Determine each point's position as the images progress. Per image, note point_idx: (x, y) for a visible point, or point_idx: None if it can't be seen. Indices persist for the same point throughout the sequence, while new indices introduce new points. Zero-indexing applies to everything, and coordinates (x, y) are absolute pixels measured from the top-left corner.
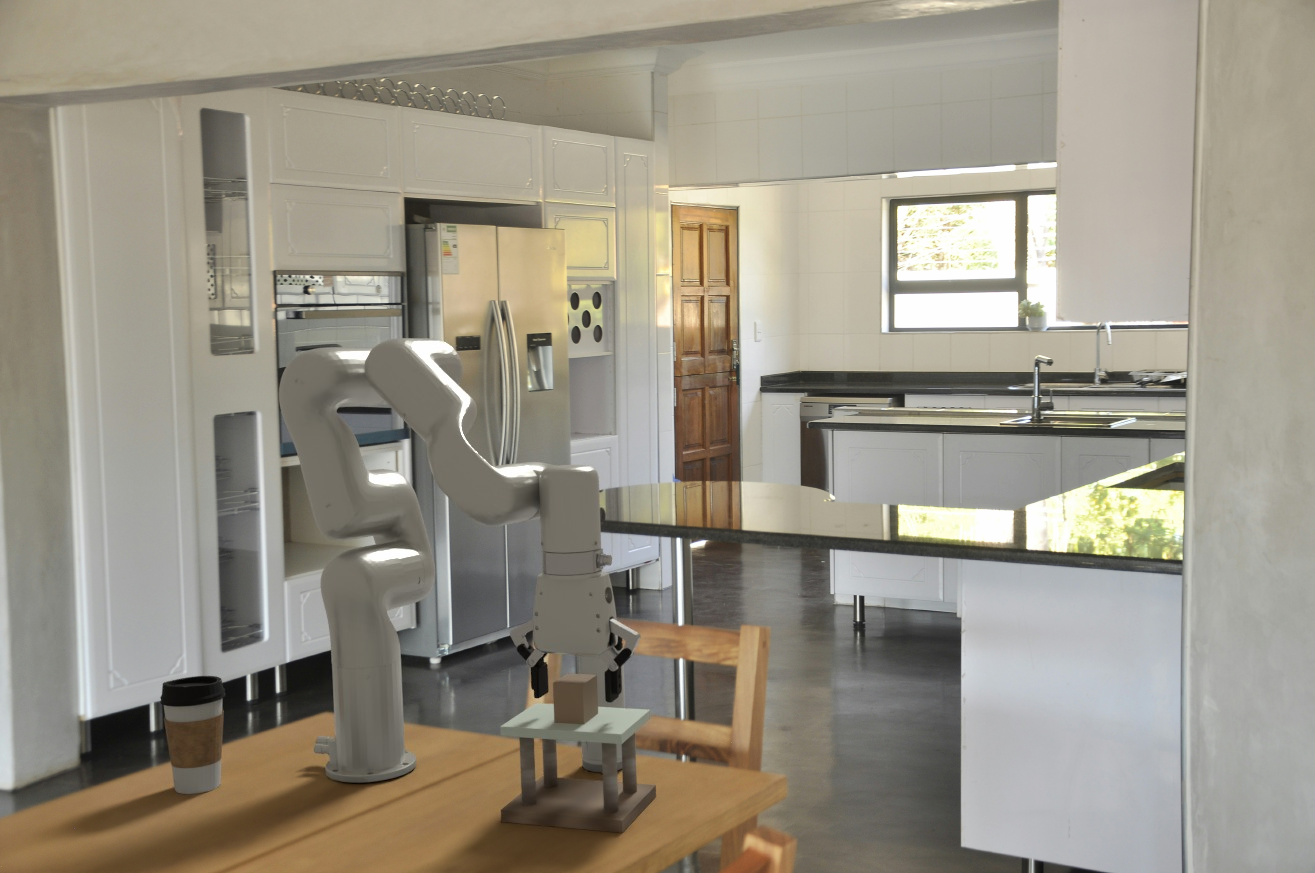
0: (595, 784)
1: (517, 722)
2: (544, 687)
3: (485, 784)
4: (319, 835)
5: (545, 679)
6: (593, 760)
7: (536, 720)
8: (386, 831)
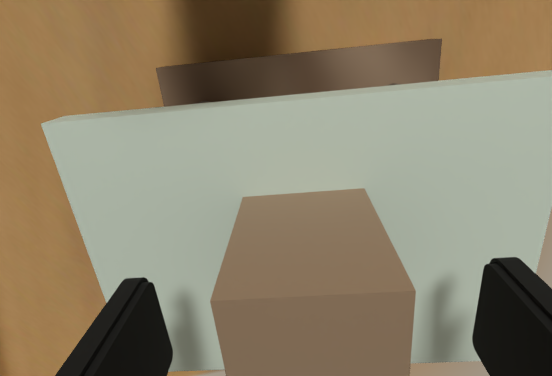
0: (299, 81)
1: None
2: (150, 337)
3: (44, 89)
4: (8, 346)
5: (132, 357)
6: None
7: (193, 308)
8: (74, 316)
